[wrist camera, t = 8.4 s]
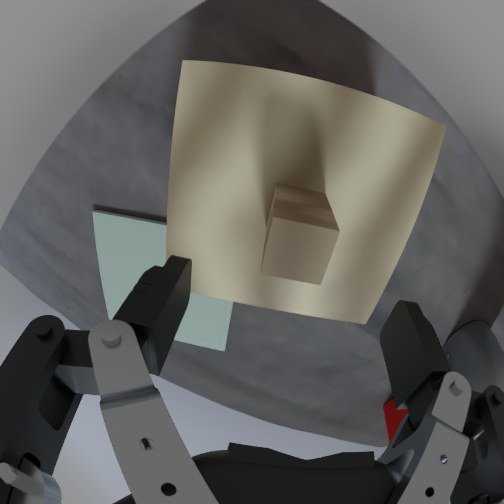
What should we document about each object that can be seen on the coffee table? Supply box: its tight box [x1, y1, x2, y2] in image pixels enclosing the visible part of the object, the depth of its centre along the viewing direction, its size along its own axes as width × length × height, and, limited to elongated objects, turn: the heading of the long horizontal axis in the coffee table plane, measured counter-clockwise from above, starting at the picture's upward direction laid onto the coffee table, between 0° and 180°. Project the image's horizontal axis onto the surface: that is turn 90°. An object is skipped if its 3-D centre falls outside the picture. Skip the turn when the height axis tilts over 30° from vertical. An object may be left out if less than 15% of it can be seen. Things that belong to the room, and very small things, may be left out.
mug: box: [383, 398, 408, 443], centre depth 40 cm, size 12×8×11 cm
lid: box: [166, 60, 446, 324], centre depth 16 cm, size 16×16×6 cm
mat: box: [93, 210, 233, 351], centre depth 34 cm, size 18×18×1 cm
